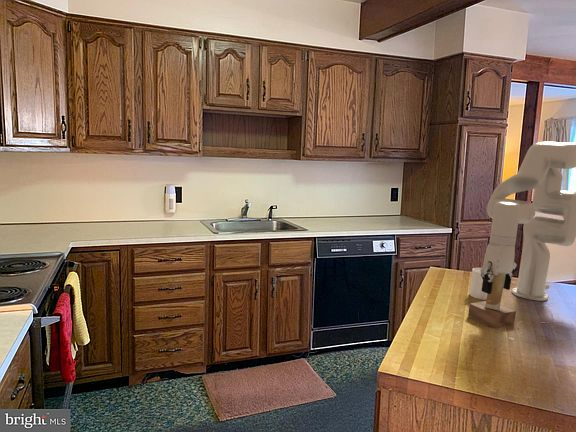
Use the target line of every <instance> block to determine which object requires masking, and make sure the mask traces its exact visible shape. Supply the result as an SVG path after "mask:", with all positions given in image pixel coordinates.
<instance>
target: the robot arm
mask: <svg viewBox="0 0 576 432" xmlns="http://www.w3.org/2000/svg"><path fill="white" fill-rule="evenodd" d="M523 158H524V159H523V160H522V163H521V164H520V166H519V169H518V172H517V173H516V174H514V175H512V176H510V177H508V178H507V179H505V180H503V181H502V182H501V183H499V184H498V185H497V186H496V187H495V189H493V192H492V194H491V196H490V198H489V201H488V203H487V207H486V213H487V216H488V217H489V218H491V219H492V222H491V228H490V234H489V235H490V237H489V242H488V245H487V247H486V251H485V254H484V259H483V264H482V266H481V267H480V268H481V269H480V272H481V277H482V280H483V283H482V292H485V293H488V294H491V291H492V284H493V282H491V281H492V280H493V278H494V276H498V275H499V274H504V273H506V276H505V282H504V287H503V290H506V291H507V290H508V291H509V290H510V289H511V283H512V278H513V277H514V275H513V274H514V273H515V271H516V270H515V269H516V268H517V265H518V264H517V263H516V262H515V256H516V253H515V252H516V251H515V250H516V242H517V235H518V229H519V225H520V224H521V225H523V228H522V229H523V230H522V231H523V243H522V244H523V245H522V252H521V257H520V258H521V259H520V264H519V270H518V271H519V272H518V278H517V279H518V280H517V284H516V287H513V288H512V289H511V292H512V294H513V295H515V296H517V297H519V298H522V299H526V300H530V301H537V302H538V301H539V302H542V301H544V302H545V301H548V299H549V295H548V294H547V293H546V292H545V291H546V290H549V289H550V285H549V284H546V283H547V277H548V271H549V264H550V259H551V253H550V250H549V248H548V245H547V244H551V245H557V246H561V247H570V246H572V245H573V244H574V243H575V240H576V191H573V190H571V191H570V190H562V183H563V179H564V178H563V174H562V172H561V169H563V170H570V169H573V168H576V142H561V141H560V142H557V141H538V142H535V143H533V144H532V145H531V146H530V147H529V148H528V149H527V151H526V153H525V156H524V157H523ZM533 189H534V191H533V197H532V203H531V202H529V201H526V200H518V199H511V198H507V197H509V196H511V195H513V194H517V193H521V192H522V193H523V192H525V191H530V190H533ZM536 212H537V213H541V214H546V215H551V216H552V215H553V216H559V217H563V219H560V218H559V219H558V218H553V217H546V216H541V215H540V216H538V215H537V216H536ZM492 272H493V273H492ZM488 275H491V276H490V277H489V276H488Z"/></svg>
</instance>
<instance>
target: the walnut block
mask: <svg viewBox="0 0 576 432" xmlns="http://www.w3.org/2000/svg"><path fill="white" fill-rule="evenodd" d="M485 304H486V300H484V301H483V300H482V301H478V302H472V303H469V308H468V315H467V317H468V318H470V319H472V320H474V321H477V322H479V323H480V324H483V325H485V326H487V327H488V328H491V329H497V328H502V327H507V326H511V325H512V326H513V325H515V319H516V313H517V310H515V309H513V308H511V307H507V306H505V305H503V304H500V309H499V311H498V310H494V309H490V308H485Z"/></svg>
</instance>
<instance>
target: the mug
mask: <svg viewBox="0 0 576 432" xmlns="http://www.w3.org/2000/svg"><path fill="white" fill-rule="evenodd" d="M481 268H482V267H473V268H472V269H471V277H470V278H471V279H470V284H469V296H471V298H474V299H477V300H482V301H483V300H484V301H486V299H487V293H485V292H482V283H483V280H482V277H481V272H480V269H481ZM488 276H489V277H490V276H491V275H488Z"/></svg>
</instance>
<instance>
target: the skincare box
mask: <svg viewBox="0 0 576 432" xmlns="http://www.w3.org/2000/svg"><path fill="white" fill-rule="evenodd" d="M492 273H493V272H492ZM505 276H506V273H504V274H499V275H498V276H494V278H493V280H492V281H491V282H493V284H492V291H491V294H488V293H487V299H486V300H485V301H486V304H485V308H490V309H494V310H498V311H499V309H500V305H501V302H502V296H503V292H504V288H503V287H504V282H505Z"/></svg>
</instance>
